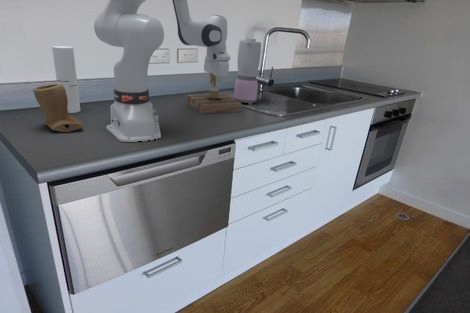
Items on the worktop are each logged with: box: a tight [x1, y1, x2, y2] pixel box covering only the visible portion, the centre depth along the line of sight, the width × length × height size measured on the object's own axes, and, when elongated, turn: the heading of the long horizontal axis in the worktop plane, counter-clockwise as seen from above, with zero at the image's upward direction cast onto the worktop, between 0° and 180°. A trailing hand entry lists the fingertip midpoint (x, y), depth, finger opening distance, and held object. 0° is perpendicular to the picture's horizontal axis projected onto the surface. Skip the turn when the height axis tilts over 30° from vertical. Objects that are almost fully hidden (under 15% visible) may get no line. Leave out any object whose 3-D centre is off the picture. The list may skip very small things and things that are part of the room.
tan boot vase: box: [33, 83, 84, 133], centre depth 109 cm, size 15×12×15 cm
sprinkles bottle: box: [208, 69, 220, 98], centre depth 150 cm, size 5×5×14 cm
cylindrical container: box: [51, 45, 81, 114], centre depth 126 cm, size 7×7×25 cm
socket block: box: [186, 93, 243, 115], centre depth 153 cm, size 20×20×4 cm
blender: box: [233, 37, 262, 106], centre depth 164 cm, size 16×12×32 cm
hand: (214, 84), depth 150 cm, fingers closed on sprinkles bottle, 4 cm apart
